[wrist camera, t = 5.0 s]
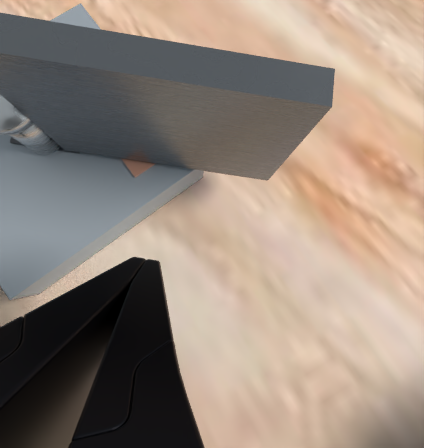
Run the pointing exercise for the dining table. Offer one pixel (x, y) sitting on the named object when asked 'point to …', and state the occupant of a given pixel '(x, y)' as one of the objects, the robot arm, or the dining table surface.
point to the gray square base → (71, 203)
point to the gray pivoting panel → (154, 98)
